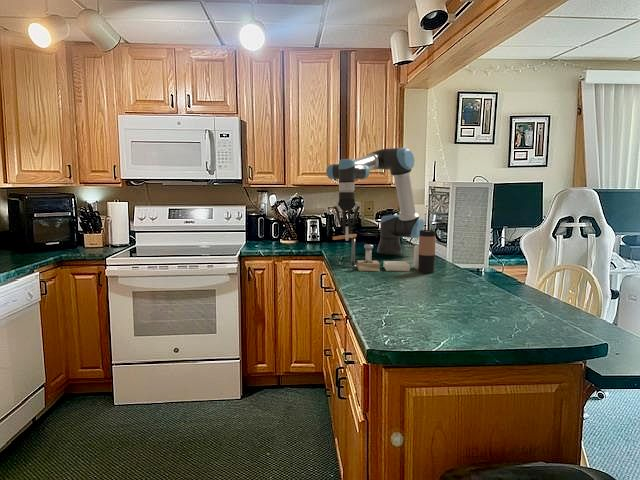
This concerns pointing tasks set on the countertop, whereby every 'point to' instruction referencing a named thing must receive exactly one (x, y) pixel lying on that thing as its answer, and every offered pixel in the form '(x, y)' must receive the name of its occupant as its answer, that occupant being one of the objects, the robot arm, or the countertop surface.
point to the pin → (368, 253)
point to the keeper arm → (344, 236)
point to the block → (368, 265)
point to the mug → (416, 256)
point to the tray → (396, 266)
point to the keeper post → (353, 254)
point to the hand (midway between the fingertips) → (346, 240)
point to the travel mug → (427, 251)
